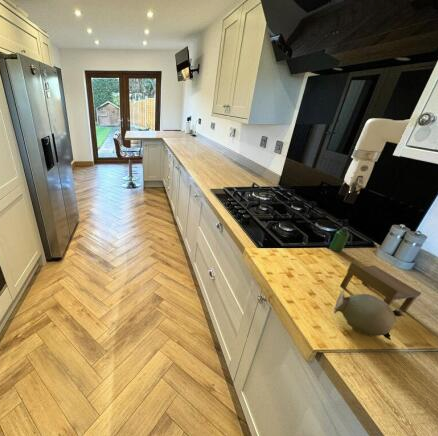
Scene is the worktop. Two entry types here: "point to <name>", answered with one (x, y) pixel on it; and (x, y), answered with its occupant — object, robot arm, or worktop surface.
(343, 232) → the bottle
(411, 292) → the rack
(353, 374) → the worktop surface
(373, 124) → the robot arm
